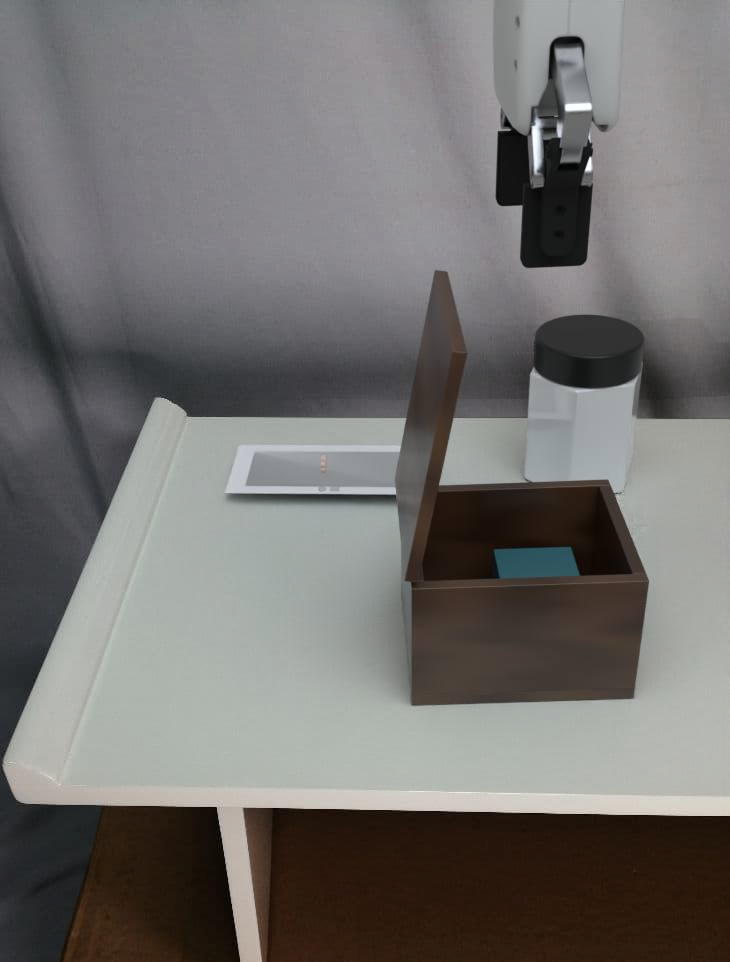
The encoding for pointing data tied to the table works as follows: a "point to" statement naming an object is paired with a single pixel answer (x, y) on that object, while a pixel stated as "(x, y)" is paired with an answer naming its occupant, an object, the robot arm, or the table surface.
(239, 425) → the table surface
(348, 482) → the touchpad
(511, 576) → the block
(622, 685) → the chest
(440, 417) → the lid
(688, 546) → the table surface
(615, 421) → the jar
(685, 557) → the table surface
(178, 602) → the table surface
